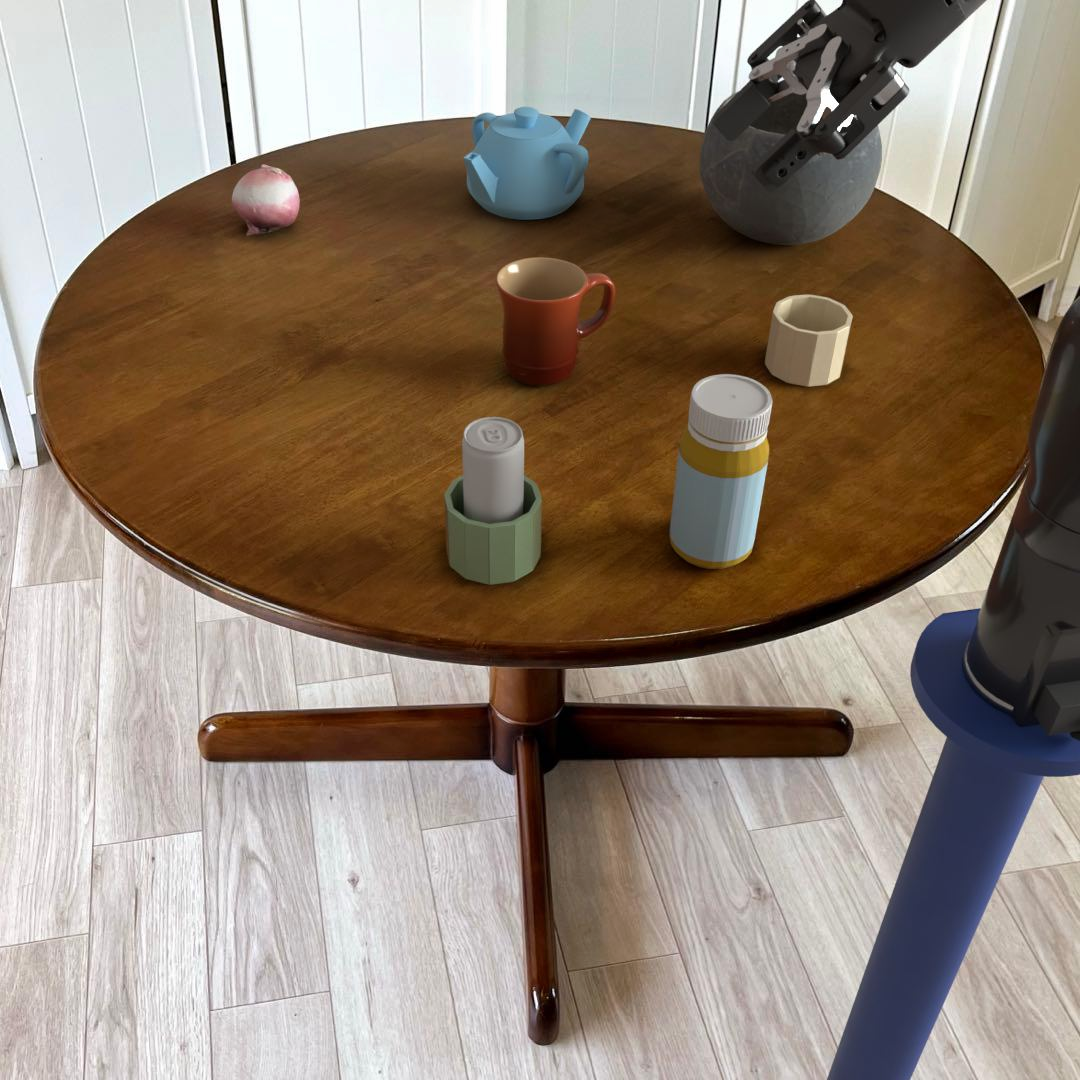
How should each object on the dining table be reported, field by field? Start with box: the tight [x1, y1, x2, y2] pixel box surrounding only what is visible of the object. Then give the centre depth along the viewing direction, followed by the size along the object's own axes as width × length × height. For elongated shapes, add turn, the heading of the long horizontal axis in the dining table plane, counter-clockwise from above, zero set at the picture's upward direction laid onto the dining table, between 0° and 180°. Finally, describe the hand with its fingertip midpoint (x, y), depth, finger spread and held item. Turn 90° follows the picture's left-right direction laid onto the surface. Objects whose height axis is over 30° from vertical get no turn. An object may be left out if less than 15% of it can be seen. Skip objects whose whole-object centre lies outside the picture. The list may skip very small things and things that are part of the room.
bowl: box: [699, 90, 883, 246], centre depth 143 cm, size 20×20×15 cm
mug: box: [495, 256, 616, 387], centre depth 121 cm, size 12×9×10 cm
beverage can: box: [461, 416, 525, 524], centre depth 98 cm, size 5×5×12 cm
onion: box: [231, 163, 301, 237], centre depth 144 cm, size 8×8×7 cm
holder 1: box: [443, 474, 543, 586], centre depth 100 cm, size 8×8×6 cm
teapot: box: [462, 106, 592, 221], centre depth 150 cm, size 15×17×11 cm
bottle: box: [669, 373, 773, 570], centre depth 99 cm, size 7×7×15 cm
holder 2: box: [764, 293, 854, 388], centre depth 123 cm, size 8×8×6 cm
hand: (739, 156), depth 85 cm, fingers open, 8 cm apart
